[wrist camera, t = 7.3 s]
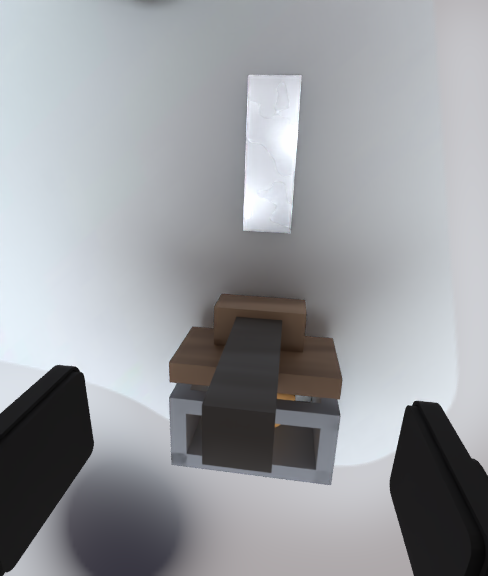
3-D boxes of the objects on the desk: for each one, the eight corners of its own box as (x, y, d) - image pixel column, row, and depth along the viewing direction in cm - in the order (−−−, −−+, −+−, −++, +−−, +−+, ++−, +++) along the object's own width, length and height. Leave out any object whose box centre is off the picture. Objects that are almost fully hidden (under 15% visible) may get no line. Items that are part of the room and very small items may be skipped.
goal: (195, 349, 22) (169, 397, 17) (329, 361, 21) (340, 416, 16) (196, 405, 23) (171, 464, 19) (322, 418, 22) (330, 485, 18)
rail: (250, 80, 17) (248, 75, 16) (301, 80, 17) (302, 74, 16) (245, 227, 19) (243, 230, 18) (290, 230, 19) (290, 233, 18)
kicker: (192, 291, 19) (114, 384, 11) (336, 302, 19) (373, 411, 10) (193, 342, 20) (121, 463, 12) (330, 354, 20) (359, 494, 11)
